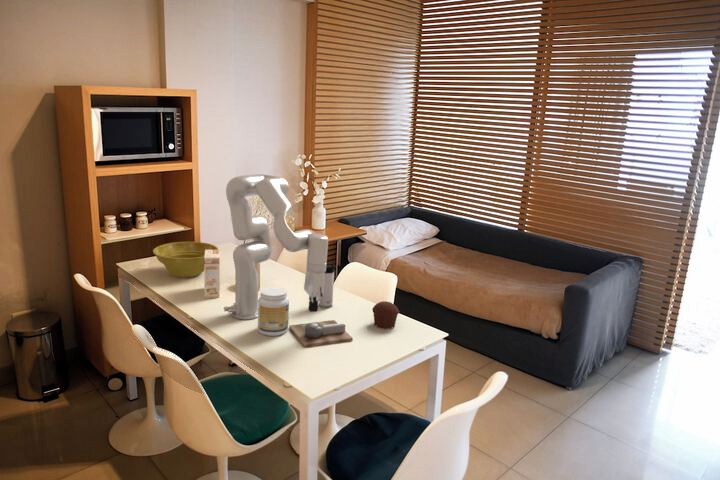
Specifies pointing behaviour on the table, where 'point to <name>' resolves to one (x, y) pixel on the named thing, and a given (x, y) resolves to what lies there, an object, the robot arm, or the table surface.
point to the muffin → (385, 315)
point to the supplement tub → (273, 311)
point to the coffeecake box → (212, 274)
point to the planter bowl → (183, 257)
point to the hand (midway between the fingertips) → (313, 310)
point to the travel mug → (328, 287)
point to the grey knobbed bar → (322, 329)
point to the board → (325, 339)
